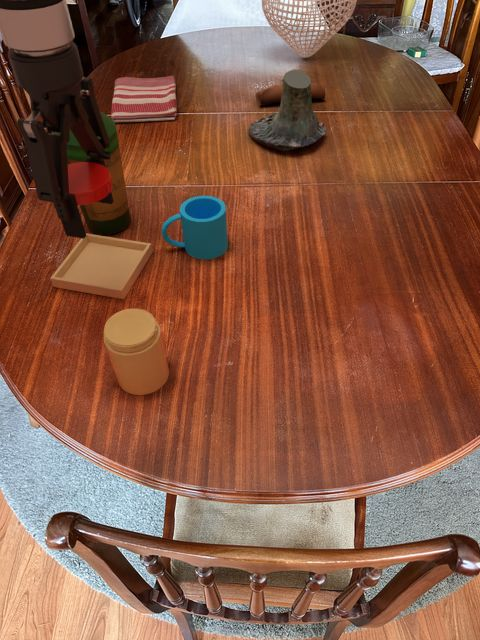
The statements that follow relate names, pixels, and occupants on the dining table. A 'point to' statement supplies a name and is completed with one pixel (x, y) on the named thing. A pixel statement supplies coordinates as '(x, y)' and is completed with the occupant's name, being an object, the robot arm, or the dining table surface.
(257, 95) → the sunglasses case
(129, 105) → the dish towel
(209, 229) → the mug
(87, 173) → the lid
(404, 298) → the dining table surface
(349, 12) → the heart
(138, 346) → the jar
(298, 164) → the dining table surface
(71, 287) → the tray
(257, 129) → the tree stump
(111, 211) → the bottle
